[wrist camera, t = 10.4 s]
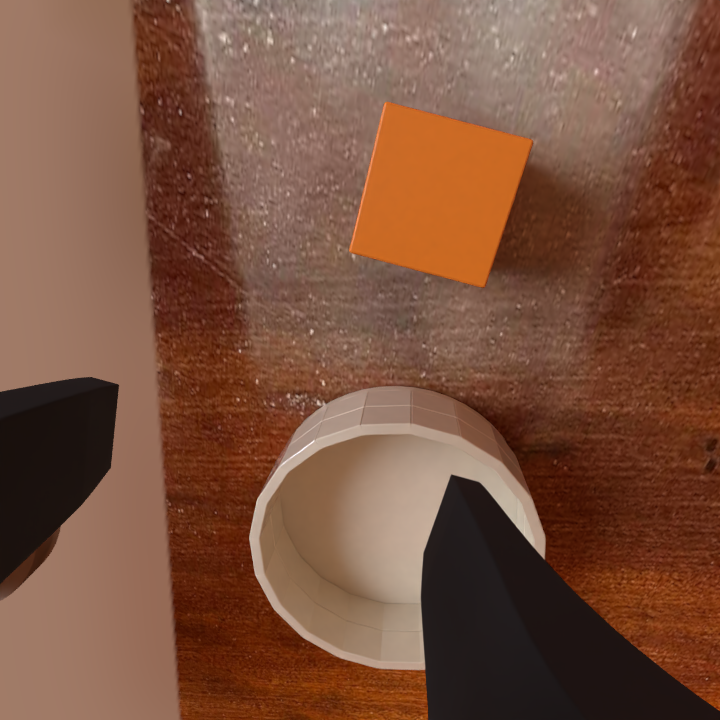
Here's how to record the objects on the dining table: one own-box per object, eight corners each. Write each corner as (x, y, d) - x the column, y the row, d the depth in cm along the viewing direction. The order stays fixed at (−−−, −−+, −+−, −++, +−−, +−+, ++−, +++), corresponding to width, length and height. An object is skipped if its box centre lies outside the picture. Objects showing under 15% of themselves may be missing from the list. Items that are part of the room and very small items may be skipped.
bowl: (255, 566, 23) (229, 628, 20) (302, 355, 20) (280, 388, 17) (477, 627, 23) (488, 699, 20) (562, 425, 20) (593, 472, 17)
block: (361, 239, 18) (348, 252, 15) (390, 120, 17) (384, 100, 13) (470, 268, 18) (484, 288, 15) (507, 150, 17) (534, 139, 13)
